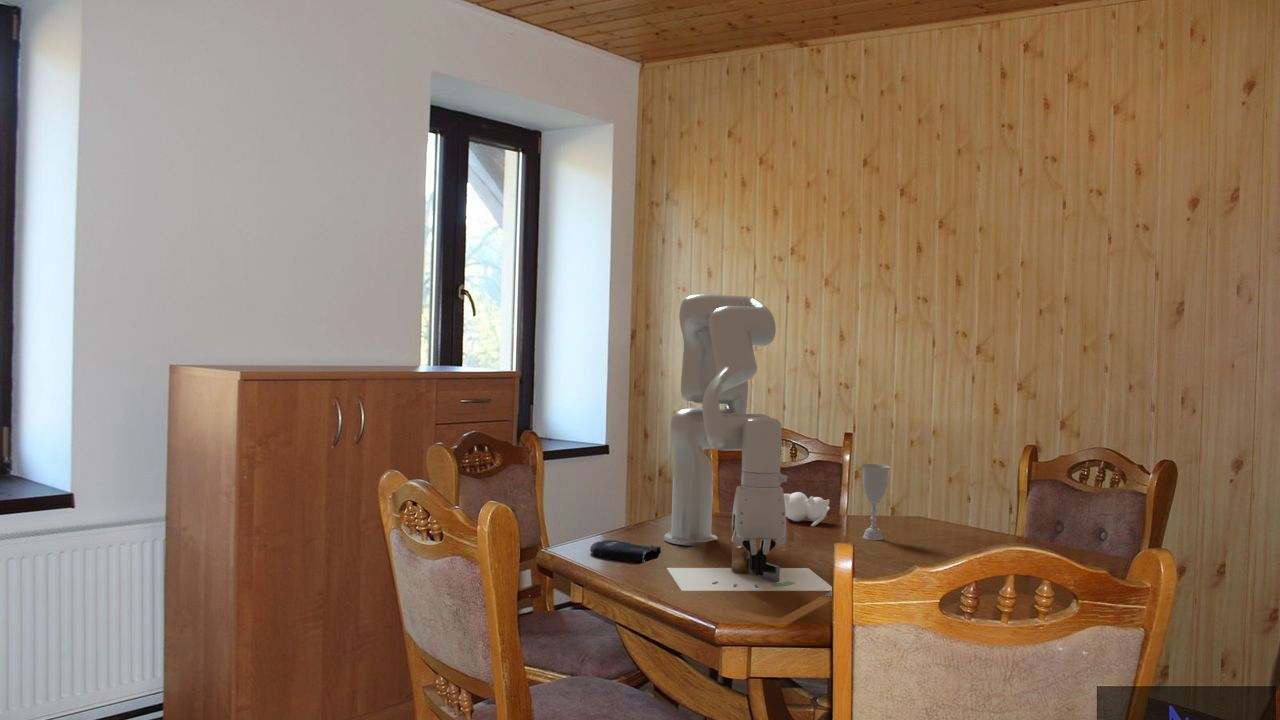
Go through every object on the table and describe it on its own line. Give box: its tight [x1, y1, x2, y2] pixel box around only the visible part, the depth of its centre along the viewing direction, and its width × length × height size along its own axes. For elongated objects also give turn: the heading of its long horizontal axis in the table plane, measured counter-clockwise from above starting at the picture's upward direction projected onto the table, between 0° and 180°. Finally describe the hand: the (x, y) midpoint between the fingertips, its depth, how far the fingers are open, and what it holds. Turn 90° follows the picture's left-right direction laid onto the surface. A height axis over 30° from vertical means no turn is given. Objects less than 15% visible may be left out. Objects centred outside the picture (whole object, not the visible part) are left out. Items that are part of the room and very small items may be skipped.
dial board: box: [666, 567, 833, 598], centre depth 199 cm, size 18×30×1 cm, turn 98°
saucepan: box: [730, 543, 781, 582], centre depth 201 cm, size 13×4×5 cm, turn 35°
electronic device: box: [589, 539, 662, 564], centre depth 221 cm, size 9×6×15 cm
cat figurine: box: [784, 491, 831, 527], centre depth 268 cm, size 9×11×12 cm
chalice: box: [861, 463, 891, 541], centre depth 250 cm, size 7×7×18 cm
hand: (757, 573), depth 197 cm, fingers closed
